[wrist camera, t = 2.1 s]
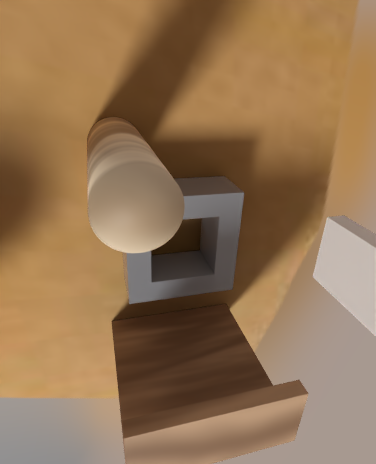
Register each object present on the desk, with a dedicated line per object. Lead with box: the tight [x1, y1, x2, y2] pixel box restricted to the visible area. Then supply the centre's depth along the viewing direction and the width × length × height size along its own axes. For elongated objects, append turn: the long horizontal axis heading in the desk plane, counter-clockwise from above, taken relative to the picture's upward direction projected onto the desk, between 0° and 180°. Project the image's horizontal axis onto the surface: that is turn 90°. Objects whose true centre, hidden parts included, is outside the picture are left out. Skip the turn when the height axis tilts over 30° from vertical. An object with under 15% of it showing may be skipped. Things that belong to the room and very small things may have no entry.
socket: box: [123, 176, 244, 304], centre depth 30 cm, size 10×10×4 cm
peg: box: [87, 117, 185, 253], centre depth 21 cm, size 4×4×14 cm
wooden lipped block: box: [112, 304, 308, 464], centre depth 30 cm, size 6×13×15 cm, turn 88°
